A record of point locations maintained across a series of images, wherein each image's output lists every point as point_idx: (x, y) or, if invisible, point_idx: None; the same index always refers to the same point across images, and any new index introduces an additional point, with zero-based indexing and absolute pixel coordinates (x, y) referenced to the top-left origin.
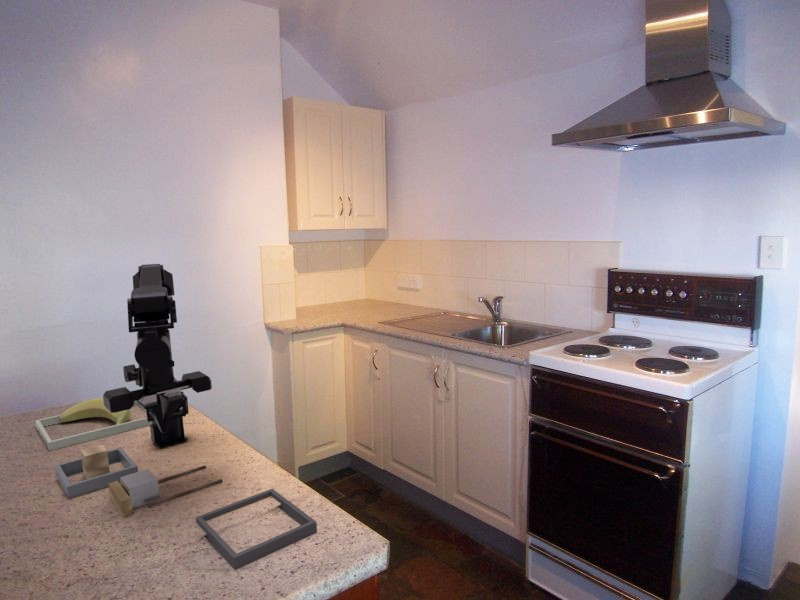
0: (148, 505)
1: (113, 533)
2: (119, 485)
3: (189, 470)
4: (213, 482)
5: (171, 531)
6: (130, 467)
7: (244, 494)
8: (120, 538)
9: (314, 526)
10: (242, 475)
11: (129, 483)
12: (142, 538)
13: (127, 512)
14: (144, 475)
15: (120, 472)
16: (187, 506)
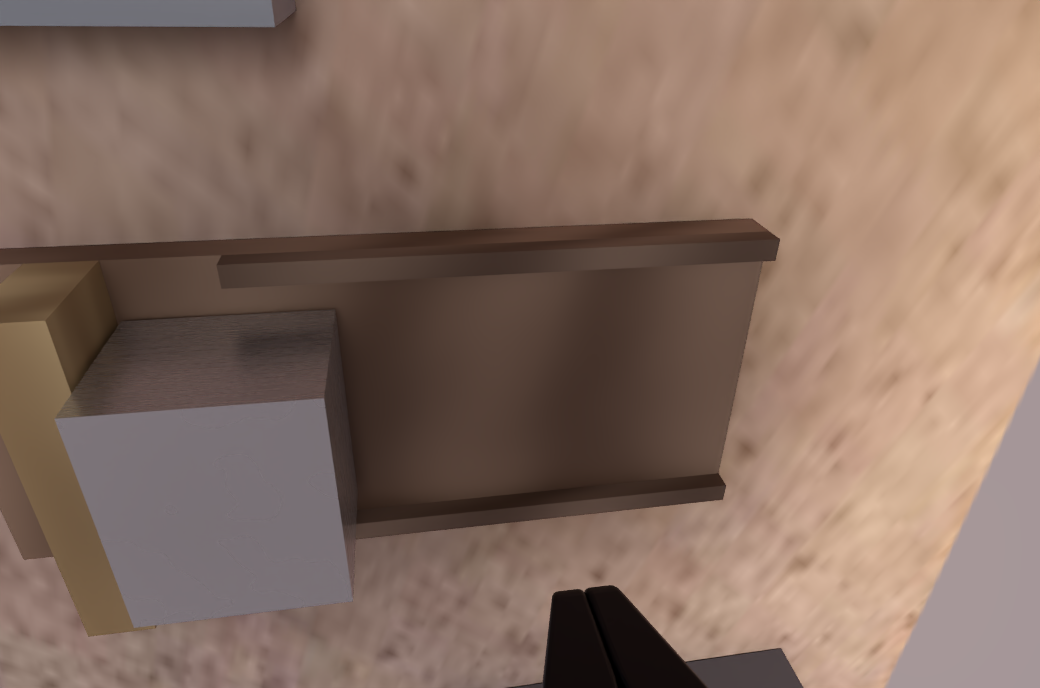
0: None
1: None
2: None
3: (659, 250)
4: (673, 500)
5: (347, 678)
6: (194, 7)
7: (729, 571)
8: (117, 636)
9: None
10: (855, 400)
11: (142, 558)
12: (219, 673)
13: None
14: (275, 495)
15: (79, 21)
16: (478, 539)
